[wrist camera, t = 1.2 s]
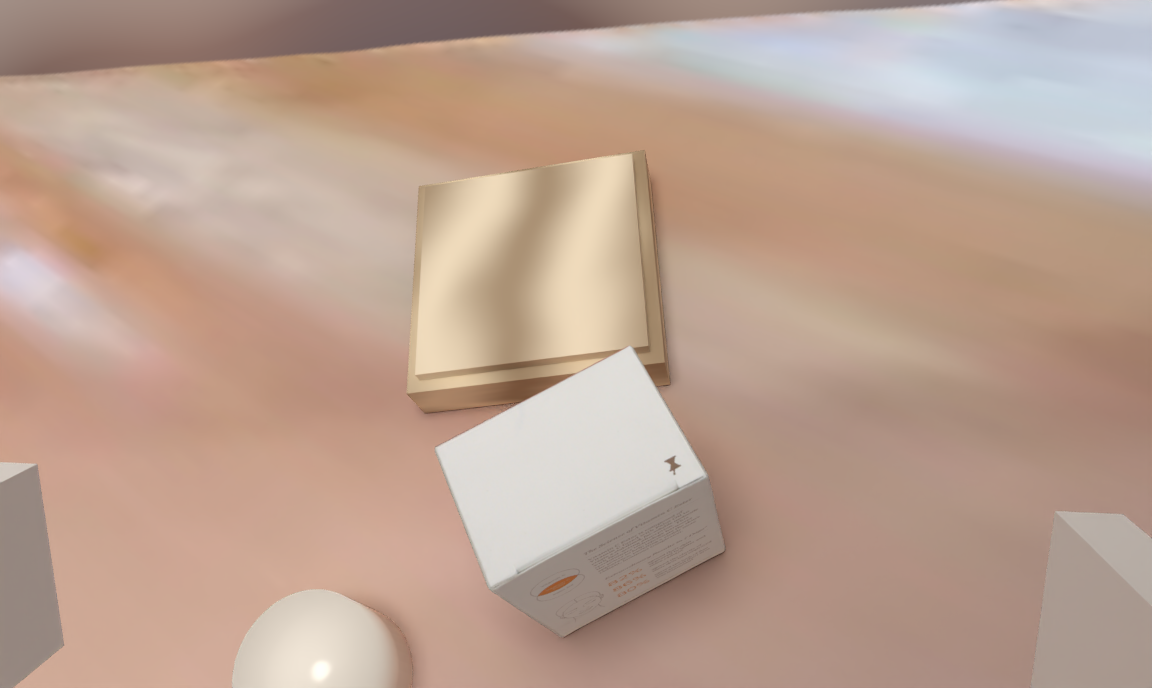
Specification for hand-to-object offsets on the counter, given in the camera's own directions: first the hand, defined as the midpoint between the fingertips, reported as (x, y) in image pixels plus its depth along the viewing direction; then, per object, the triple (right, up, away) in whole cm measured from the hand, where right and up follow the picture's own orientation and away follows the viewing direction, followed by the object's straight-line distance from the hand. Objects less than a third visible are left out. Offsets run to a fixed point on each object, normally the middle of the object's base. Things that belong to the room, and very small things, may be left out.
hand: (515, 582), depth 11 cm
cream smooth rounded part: (-9, -11, +26) cm, 30 cm away
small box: (+3, -5, +27) cm, 27 cm away
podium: (-1, +6, +33) cm, 33 cm away
